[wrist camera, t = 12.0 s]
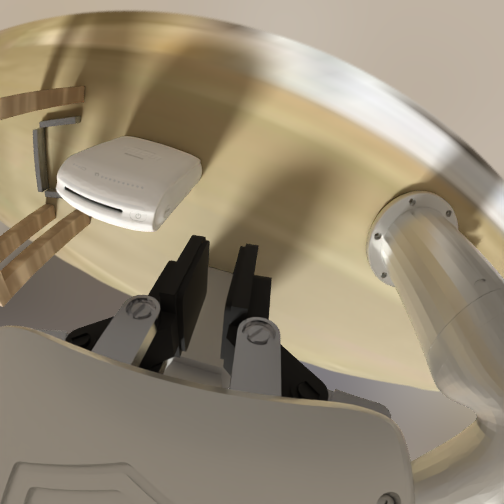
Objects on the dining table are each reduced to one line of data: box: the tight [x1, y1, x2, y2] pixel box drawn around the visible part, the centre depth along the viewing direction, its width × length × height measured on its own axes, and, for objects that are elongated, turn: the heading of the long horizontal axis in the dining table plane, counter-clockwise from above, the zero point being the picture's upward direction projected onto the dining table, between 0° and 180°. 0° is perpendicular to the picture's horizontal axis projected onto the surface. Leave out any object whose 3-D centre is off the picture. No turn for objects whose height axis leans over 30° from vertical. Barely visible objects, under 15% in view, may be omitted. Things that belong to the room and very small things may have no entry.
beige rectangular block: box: [163, 267, 233, 389], centre depth 27 cm, size 7×7×18 cm
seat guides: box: [33, 116, 80, 198], centre depth 26 cm, size 8×11×2 cm
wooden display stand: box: [0, 86, 90, 307], centre depth 20 cm, size 9×18×18 cm, turn 173°
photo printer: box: [56, 136, 202, 232], centre depth 22 cm, size 10×4×12 cm, turn 69°
